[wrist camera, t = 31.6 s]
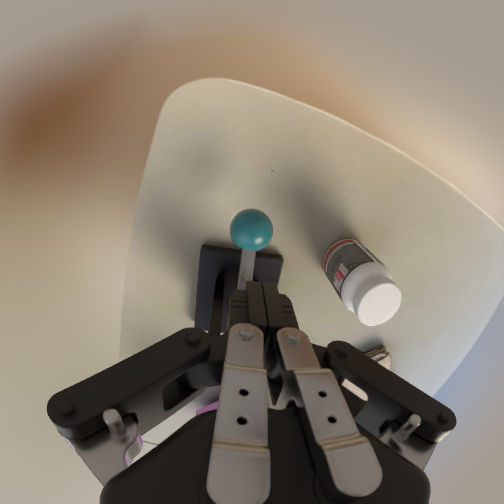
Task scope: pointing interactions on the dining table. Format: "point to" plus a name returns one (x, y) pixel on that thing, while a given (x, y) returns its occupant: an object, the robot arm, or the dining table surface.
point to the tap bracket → (226, 283)
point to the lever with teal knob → (250, 240)
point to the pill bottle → (362, 282)
